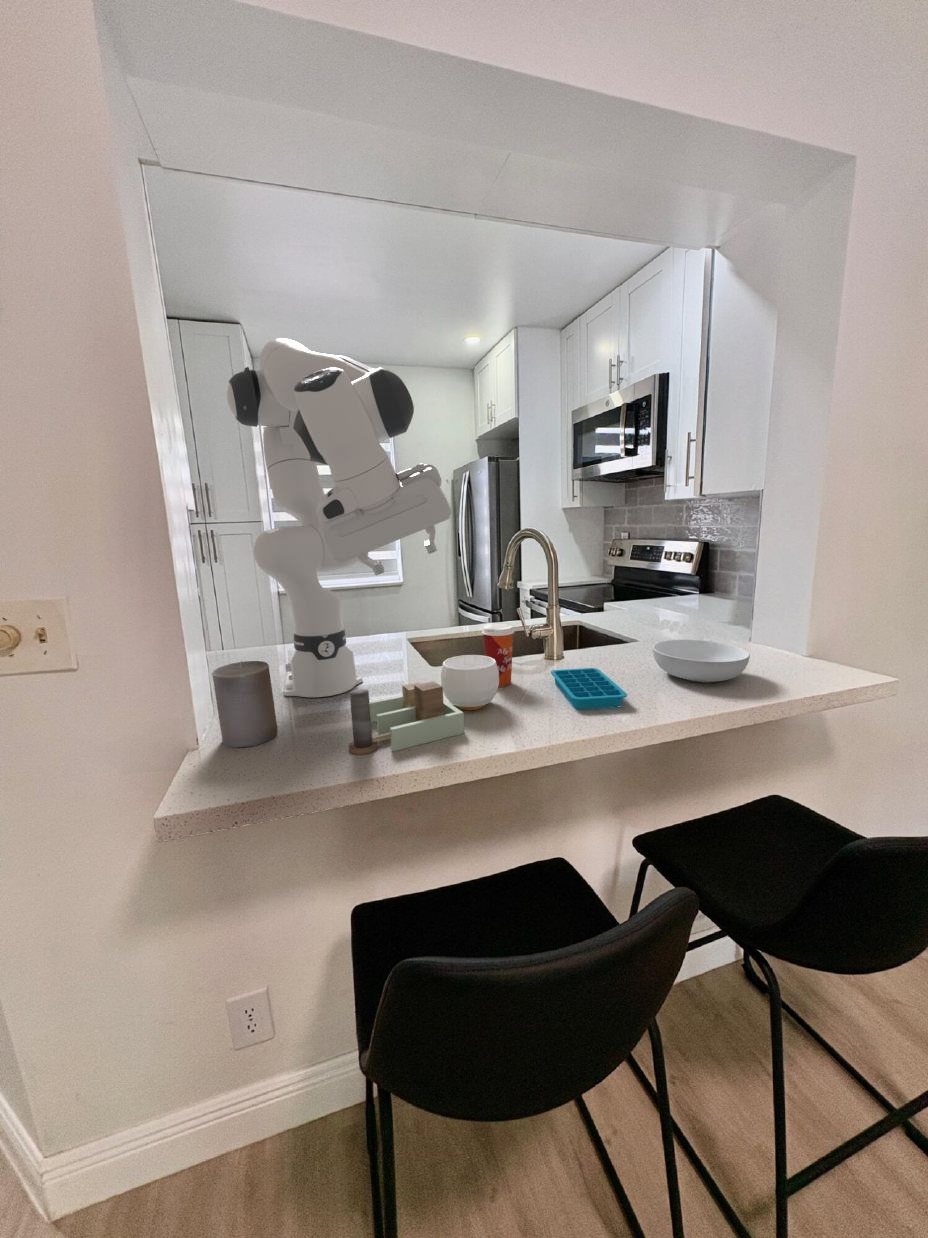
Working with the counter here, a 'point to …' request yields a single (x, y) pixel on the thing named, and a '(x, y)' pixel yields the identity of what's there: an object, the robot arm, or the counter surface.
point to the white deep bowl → (470, 680)
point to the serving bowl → (700, 659)
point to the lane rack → (413, 723)
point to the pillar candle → (245, 703)
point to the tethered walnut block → (364, 743)
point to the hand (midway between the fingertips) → (406, 562)
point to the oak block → (409, 695)
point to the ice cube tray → (588, 688)
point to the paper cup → (500, 649)
